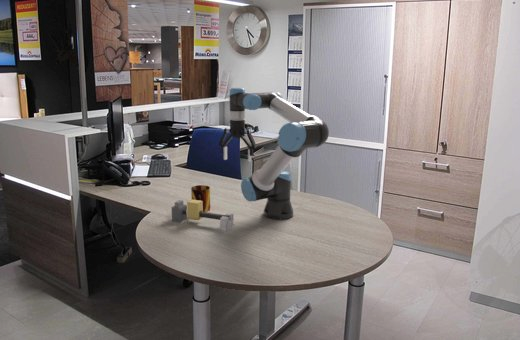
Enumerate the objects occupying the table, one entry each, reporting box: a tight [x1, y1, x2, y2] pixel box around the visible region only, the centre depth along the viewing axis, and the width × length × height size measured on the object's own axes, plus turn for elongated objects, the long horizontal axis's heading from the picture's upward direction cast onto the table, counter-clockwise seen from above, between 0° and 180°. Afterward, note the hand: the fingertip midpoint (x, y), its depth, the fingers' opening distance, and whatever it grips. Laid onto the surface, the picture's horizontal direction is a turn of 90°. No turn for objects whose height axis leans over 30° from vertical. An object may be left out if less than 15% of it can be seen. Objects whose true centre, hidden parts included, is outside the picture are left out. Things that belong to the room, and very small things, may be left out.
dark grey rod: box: [183, 209, 229, 221], centre depth 217 cm, size 28×4×4 cm, turn 68°
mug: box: [190, 184, 211, 213], centre depth 234 cm, size 10×14×12 cm
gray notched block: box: [219, 212, 235, 232], centre depth 212 cm, size 3×8×6 cm, turn 158°
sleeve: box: [186, 198, 204, 221], centre depth 218 cm, size 6×4×8 cm
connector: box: [171, 199, 188, 223], centre depth 221 cm, size 5×6×9 cm
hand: (237, 160), depth 230 cm, fingers open, 13 cm apart
